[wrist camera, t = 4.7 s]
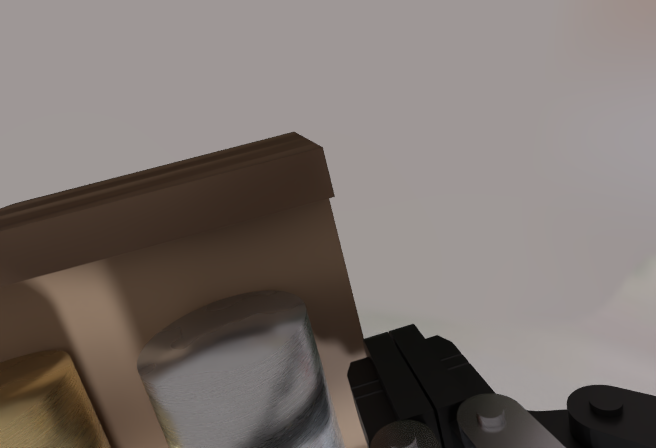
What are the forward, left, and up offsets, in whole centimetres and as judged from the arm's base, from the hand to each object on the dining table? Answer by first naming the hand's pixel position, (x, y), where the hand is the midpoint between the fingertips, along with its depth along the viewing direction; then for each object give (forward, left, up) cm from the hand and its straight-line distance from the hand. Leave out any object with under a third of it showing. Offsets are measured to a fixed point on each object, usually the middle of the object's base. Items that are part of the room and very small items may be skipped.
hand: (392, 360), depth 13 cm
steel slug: (0, -5, -1) cm, 5 cm away
